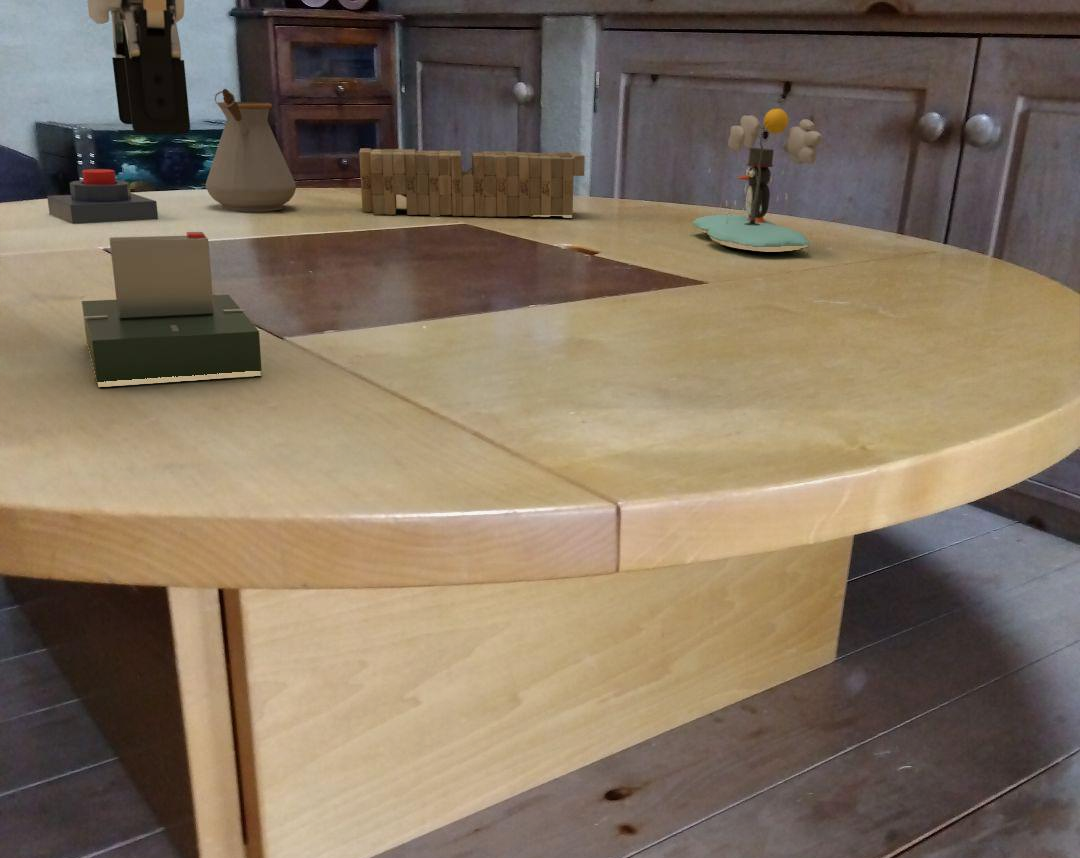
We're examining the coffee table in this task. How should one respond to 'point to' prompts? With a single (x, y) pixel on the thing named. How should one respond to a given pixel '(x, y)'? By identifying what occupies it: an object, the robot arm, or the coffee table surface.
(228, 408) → the coffee table surface
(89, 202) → the button block
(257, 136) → the coffee pot
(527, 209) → the block tower
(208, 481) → the coffee table surface
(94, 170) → the release button
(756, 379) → the coffee table surface
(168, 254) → the upright beige tablet
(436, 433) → the coffee table surface
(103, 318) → the block
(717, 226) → the penguin figurine
